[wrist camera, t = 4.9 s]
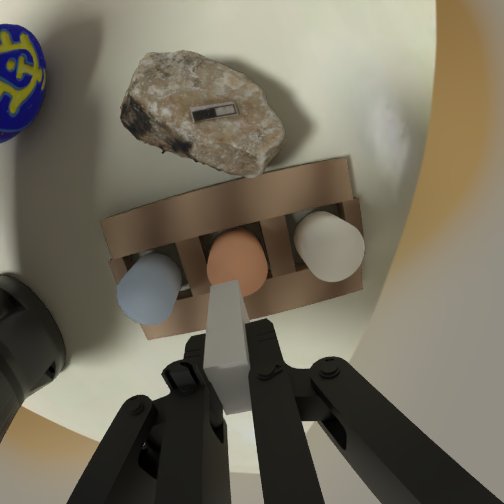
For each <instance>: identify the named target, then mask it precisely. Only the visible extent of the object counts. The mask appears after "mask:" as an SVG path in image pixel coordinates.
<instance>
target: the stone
mask: <svg viewBox="0 0 504 504" xmlns="http://www.w3.org/2000/svg"><path fill="white" fill-rule="evenodd" d="M120 108H121V117H120V118H121V122H122V124H123V125H124V127H125V128H127V129H128V130H129V131H130V132H131V133H132V134H133V136H135V137H136V139H138V140H141V141H143V142H144V143H148V144H149V145H153V146H157V147H158V148H161V149H162V150H163V152H162V154H163V153H164V152H165V151H170V152H172V153H174V154H177V155H179V156H181V157H187V158H190V159H193V160H194V161H195V162H201V163H202V164H207V165H209V166H210V167H212V168H215V169H217V170H218V171H224V172H226V173H228V174H231V175H239V176H243V177H246V178H255V177H257V176H259V175H262V174H263V173H264V171H265V169H266V167H267V165H268V164H269V163H270V161H271V160H272V159H273V158H274V157H275V156H276V155H277V154H278V153H279V151H280V150H281V148H282V147H283V145H284V144H285V142H286V133H285V129H284V127H283V125H282V123H281V121H280V119H279V118H278V116H277V115H276V114H275V112H274V111H273V110H272V109H271V108H270V107H269V105H268V103H267V101H266V94H265V92H264V91H263V89H262V88H261V87H259V86H258V85H257V84H255V83H254V82H252V81H251V80H250V79H249V78H247V77H246V76H245V75H244V74H243V73H242V72H237V71H234V70H232V69H230V68H228V67H226V66H225V65H223V64H220V63H218V62H215V61H212V60H209V59H208V58H206V57H204V56H202V55H200V54H198V53H195V52H191V51H185V50H183V51H177V52H175V53H155V52H152V53H148V54H146V56H145V57H144V58H143V59H142V60H141V61H140V64H139V66H138V68H137V69H136V70H135V73H134V74H133V77H132V80H131V83H130V86H129V88H128V90H127V91H126V94H125V97H124V100H123V102H122V106H121V107H120Z"/></svg>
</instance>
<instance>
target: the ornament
mask: <svg viewBox="0 0 504 504" xmlns="http://www.w3.org/2000/svg"><path fill="white" fill-rule="evenodd" d="M45 86H46V65H45V59H44V55H43V52H42V48H41V46H40V44H39V42H38V41H37V39H36V38H35V36H34V35H33V34H32V33H31V32H30V31H28V30H27V29H26V28H24V27H22V26H19V25H13V24H0V143H3V142H5V141H8V140H9V139H11V138H13V137H14V136H16V135H17V134H18V133H20V132H21V131H22V130H24V129H25V128H26V127H27V126H28V125H29V124H30V123H31V122H32V121H33V120H34V118H35V117H36V115H37V114H38V112H39V110H40V107H41V104H42V101H43V98H44V92H45Z"/></svg>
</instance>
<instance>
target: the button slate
mask: <svg viewBox="0 0 504 504" xmlns="http://www.w3.org/2000/svg"><path fill="white" fill-rule="evenodd" d="M181 284H182V275H181V272H180V269H179V267H178V266H177V264H176V263H175V262H174V261H173V260H172V259H171V258H169V257H168V256H166V255H163V254H160V253H149V254H146V255H144V256H142V257H141V258H140V259H139V260H138V261H137V262H136V263H135V264H134V265H133V266H132V268H131V269H130V270H129V271H128V272H127V273H126V274H125V276H124V277H123V278H122V279H121V281H120V282H119V284H118V287H117V300H118V303H119V305H120V307H121V309H122V311H123V312H124V313H125V314H126V315H127V316H128V317H129V318H130V319H132V320H134V321H135V322H137V323H140V324H144V325H156V324H159V323H162V322H163V321H165V320H166V319H167V318H168V317H169V316H170V314H171V312H172V309H173V307H174V304H175V301H176V298H177V296H178V293H179V290H180V288H181Z"/></svg>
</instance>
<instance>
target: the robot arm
mask: <svg viewBox="0 0 504 504" xmlns="http://www.w3.org/2000/svg"><path fill="white" fill-rule="evenodd" d="M64 363H65V347H64V343H63V339H62V337H61V334H60V331H59V329H58V327H57V325H56V323H55V321H54V320H53V318H52V316H51V315H50V313H49V312H48V310H47V309H46V307H45V306H44V305H43V303H42V302H41V301H40V300H39V298H38V297H37V296H36V295H35V294H34V293H33V292H32V291H31V290H30V289H29V288H28V287H26V286H25V285H24V284H23V283H21V282H20V281H18V280H16V279H14V278H12V277H9V276H0V443H1V441H2V439H3V437H4V435H5V433H6V431H7V429H8V428H9V426H10V424H11V422H12V420H13V419H14V417H15V415H16V413H17V412H18V410H19V408H20V407H21V405H22V403H23V402H24V400H25V399H26V398H27V397H29V396H30V395H32V394H33V393H35V392H37V391H38V390H40V389H41V388H43V387H44V386H46V385H47V384H49V383H50V382H52V381H53V380H54V379H55V378H56V377H57V376H58V374H59V372H60V371H61V369H62V368H63V366H64ZM161 375H162V377H163V378H164V380H165V382H166V384H167V385H168V387H169V389H170V390H171V391H170V394H169V395H167V396H165V397H162V398H159V399H157V400H154V401H152V400H151V399H150V398H149V397H148V396H145V395H136V396H133V397H131V398H129V399H128V400H126V401H125V403H124V404H123V405H122V407H121V408H120V410H119V412H118V413H117V415H116V417H115V418H114V420H113V422H112V423H111V425H110V427H109V428H108V430H107V432H106V434H105V435H104V437H103V439H102V440H101V442H100V444H99V446H98V447H97V449H96V451H95V453H94V454H93V456H92V458H91V460H90V462H89V463H88V465H87V467H86V469H85V470H84V472H83V474H82V476H81V478H80V479H79V481H78V483H77V485H76V487H75V489H74V490H73V492H72V495H71V496H70V498H69V500H68V502H67V504H231V492H230V479H229V478H230V477H229V460H228V440H227V425H226V421H225V420H224V418H223V409H224V411H225V413H226V415H229V414H235V413H240V412H246V411H251V410H252V414H253V422H254V430H255V438H256V446H257V454H258V461H259V469H260V476H261V483H262V490H263V498H264V504H325V502H324V499H323V496H322V492H321V488H320V485H319V482H318V478H317V474H316V471H315V467H314V464H313V460H312V457H311V453H310V450H309V446H308V443H307V439H306V436H305V432H304V429H303V425H302V422H301V421H317V422H318V423H319V425H320V426H321V427H322V429H323V430H324V431H325V433H326V434H327V435H328V437H329V438H330V439H331V441H332V442H333V443H334V445H335V446H336V447H337V449H338V450H339V451H340V452H341V454H342V455H343V456H344V457H345V459H346V460H347V461H348V463H349V464H350V465H351V467H352V468H353V469H354V470H355V471H356V473H357V474H358V475H359V477H360V478H361V479H362V480H363V482H364V483H365V484H366V485H367V487H368V488H369V489H370V490H371V491H372V493H373V494H374V495H375V496H376V497H377V499H378V500H379V501H380V502H381V503H382V504H504V503H503V502H502V501H501V500H499V499H498V498H497V497H496V496H495V495H493V494H492V493H491V492H490V491H489V490H487V488H485V487H484V486H483V485H482V484H481V483H480V482H478V481H477V480H476V479H475V478H474V477H473V476H471V475H470V474H469V473H468V472H467V471H466V470H465V469H464V468H462V467H461V466H460V465H459V464H458V463H457V462H456V461H455V460H453V459H452V458H451V457H450V456H449V455H448V454H447V453H446V452H444V451H443V450H442V449H441V448H440V447H439V446H438V445H437V444H435V443H434V442H433V441H432V440H431V439H430V438H429V437H428V436H427V435H426V434H424V433H423V432H422V431H421V430H420V429H419V428H418V427H417V426H416V425H415V424H413V423H412V422H411V421H410V420H409V419H408V418H407V417H406V416H404V414H403V413H401V412H400V411H399V410H398V409H397V408H396V407H395V406H394V405H393V404H392V403H390V402H389V401H388V400H387V399H386V398H385V397H384V396H383V395H382V394H381V393H380V392H379V391H378V390H376V389H375V388H374V387H373V386H372V385H371V384H370V383H369V382H368V381H367V380H366V379H365V378H364V377H363V376H362V375H360V374H359V373H358V372H357V371H356V370H355V369H354V368H353V367H352V366H351V365H350V364H349V363H348V362H347V361H345V360H344V359H342V358H339V357H334V356H333V357H325V358H322V359H319V360H318V361H316V362H315V363H314V364H313V365H312V366H311V368H310V369H296V368H292V367H290V366H288V365H287V364H286V363H285V362H284V360H283V357H282V354H281V350H280V347H279V343H278V340H277V336H276V333H275V329H274V326H273V323H272V322H270V321H269V320H268V319H267V318H266V319H262V320H258V321H254V322H250V321H249V317H248V314H247V310H246V307H245V304H244V300H243V297H242V293H241V290H240V286H239V282H238V279H237V280H233V281H229V282H225V283H221V284H216V285H212V286H211V287H210V297H209V307H208V317H207V328H206V333H205V334H200V335H195V336H191V338H190V339H189V340H188V342H187V343H186V346H185V353H184V359H183V360H178V361H175V362H173V363H171V364H169V365H168V366H167V367H166V368H165V369H164V370H163V372H162V374H161ZM144 443H145V445H144ZM143 445H144V446H143Z"/></svg>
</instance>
